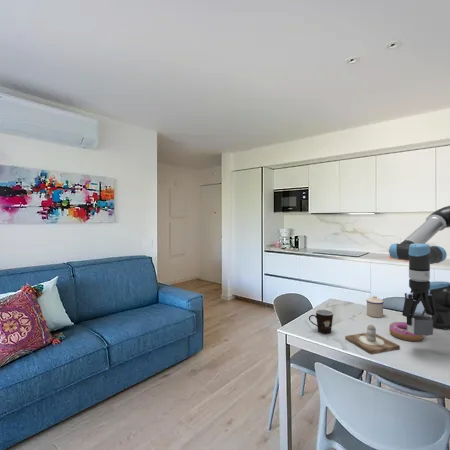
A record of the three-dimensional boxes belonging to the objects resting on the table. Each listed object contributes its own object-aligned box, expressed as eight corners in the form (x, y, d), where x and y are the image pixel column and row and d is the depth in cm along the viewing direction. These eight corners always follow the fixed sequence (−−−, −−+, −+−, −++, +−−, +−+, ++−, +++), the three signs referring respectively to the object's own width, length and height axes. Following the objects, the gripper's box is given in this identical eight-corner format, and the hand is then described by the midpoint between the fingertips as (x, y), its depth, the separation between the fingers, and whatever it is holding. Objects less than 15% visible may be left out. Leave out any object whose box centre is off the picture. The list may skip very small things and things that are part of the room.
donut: (407, 344, 133) (407, 333, 132) (382, 332, 146) (382, 322, 146) (431, 340, 136) (431, 329, 136) (405, 328, 150) (405, 319, 150)
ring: (417, 325, 130) (417, 312, 130) (437, 333, 121) (437, 319, 121) (402, 328, 127) (402, 315, 127) (421, 337, 119) (421, 322, 118)
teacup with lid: (386, 317, 166) (387, 298, 166) (372, 318, 165) (372, 298, 165) (374, 310, 178) (374, 292, 177) (360, 311, 177) (360, 293, 177)
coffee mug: (333, 329, 150) (333, 310, 150) (332, 335, 142) (332, 316, 142) (311, 326, 155) (311, 308, 155) (308, 332, 147) (308, 313, 147)
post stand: (372, 334, 143) (372, 317, 143) (399, 348, 128) (399, 329, 127) (345, 339, 138) (345, 321, 138) (370, 354, 123) (370, 334, 123)
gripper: (407, 284, 117) (407, 338, 117) (446, 278, 123) (446, 330, 124) (392, 280, 124) (392, 330, 125) (429, 275, 130) (429, 323, 131)
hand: (419, 330), depth 124 cm, fingers closed on ring, 9 cm apart
